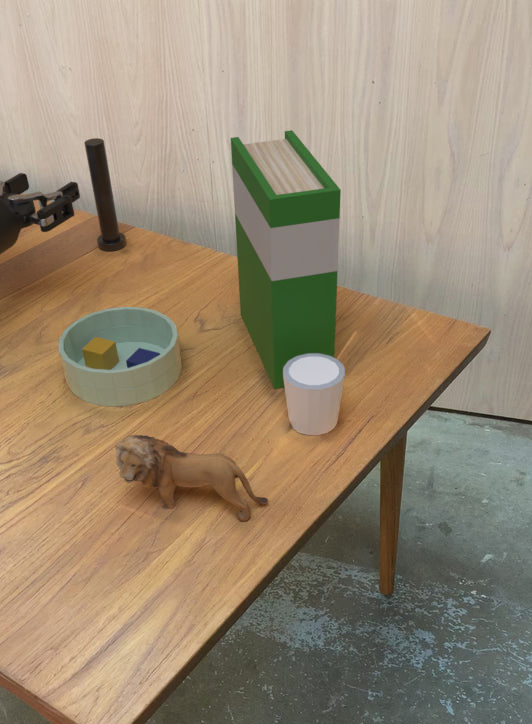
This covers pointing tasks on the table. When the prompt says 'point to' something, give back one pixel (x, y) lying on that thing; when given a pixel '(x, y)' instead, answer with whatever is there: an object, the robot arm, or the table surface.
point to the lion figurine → (181, 471)
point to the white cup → (313, 392)
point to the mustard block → (100, 354)
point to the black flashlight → (103, 196)
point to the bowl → (122, 356)
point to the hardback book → (285, 250)
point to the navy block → (140, 357)
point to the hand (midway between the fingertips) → (50, 184)
